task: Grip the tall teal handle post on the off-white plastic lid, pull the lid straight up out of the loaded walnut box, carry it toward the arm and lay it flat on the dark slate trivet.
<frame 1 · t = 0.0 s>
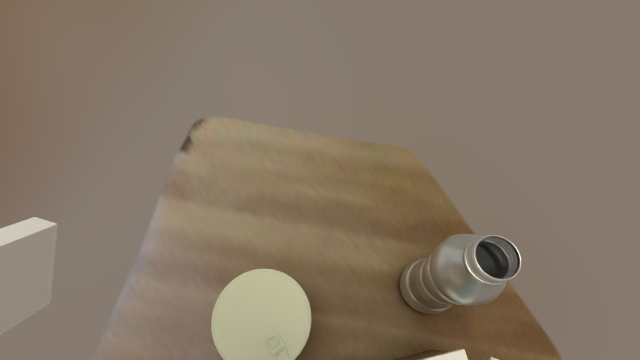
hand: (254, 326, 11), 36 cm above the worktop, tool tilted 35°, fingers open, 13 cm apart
can: (272, 323, 44), on the worktop
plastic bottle: (421, 288, 47), on the worktop
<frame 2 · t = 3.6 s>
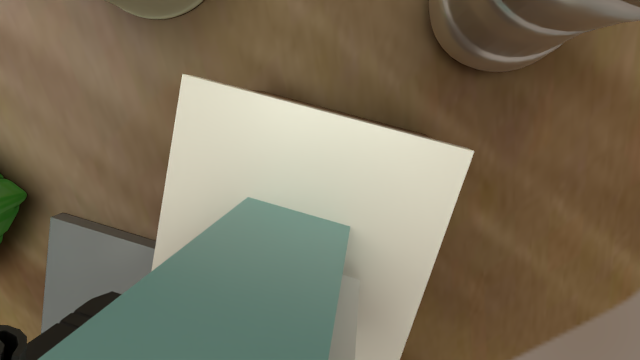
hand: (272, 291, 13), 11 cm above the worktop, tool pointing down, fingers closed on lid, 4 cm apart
box: (316, 206, 23), on the worktop
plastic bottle: (483, 12, 20), on the worktop
trivet: (124, 316, 27), on the worktop
lid: (289, 260, 15), point 8 cm above the worktop, touching box, gripper
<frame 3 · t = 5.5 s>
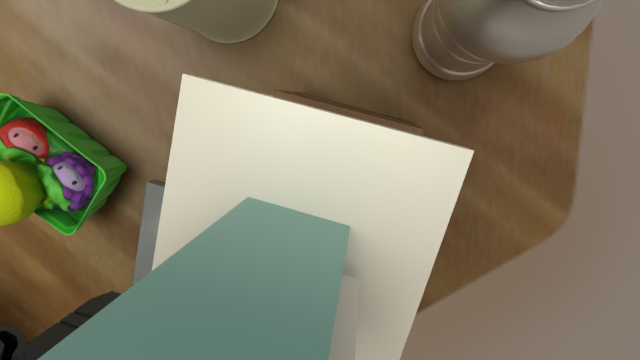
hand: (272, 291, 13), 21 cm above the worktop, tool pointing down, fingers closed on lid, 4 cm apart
box: (336, 173, 33), on the worktop
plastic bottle: (450, 40, 30), on the worktop
fruit basket: (80, 162, 37), on the worktop
trivet: (195, 255, 37), on the worktop
lid: (289, 259, 15), point 18 cm above the worktop, touching gripper
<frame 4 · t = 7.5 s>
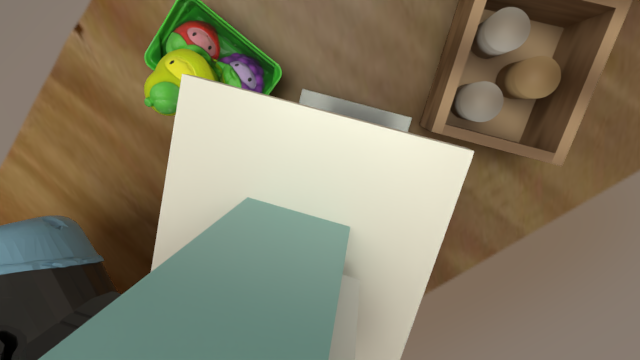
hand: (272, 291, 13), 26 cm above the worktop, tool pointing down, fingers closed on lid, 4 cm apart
box: (491, 76, 35), on the worktop
fruit basket: (230, 74, 38), on the worktop
trivet: (340, 164, 38), on the worktop
lid: (289, 260, 15), point 24 cm above the worktop, touching gripper
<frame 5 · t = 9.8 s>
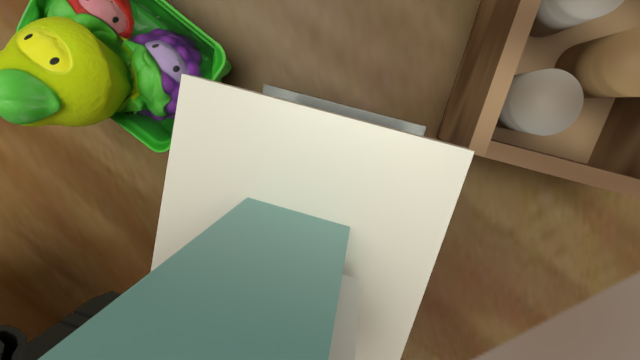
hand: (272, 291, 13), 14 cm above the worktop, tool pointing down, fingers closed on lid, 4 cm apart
box: (545, 64, 23), on the worktop
fruit basket: (161, 64, 27), on the worktop
trivet: (321, 194, 27), on the worktop
lid: (288, 260, 15), point 12 cm above the worktop, touching gripper
when the fingers open (6 cm above the worktop, at t = 11.6 s): lid drops 2 cm, resting on trivet.
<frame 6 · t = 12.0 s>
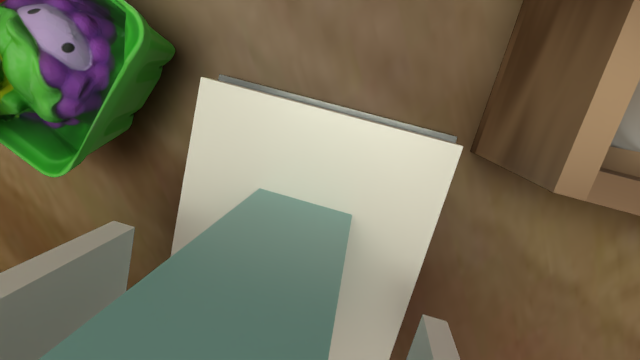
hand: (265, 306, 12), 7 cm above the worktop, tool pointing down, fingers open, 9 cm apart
box: (639, 43, 15), on the worktop
fruit basket: (80, 47, 19), on the worktop
trivet: (304, 230, 19), on the worktop
lid: (296, 246, 17), point 2 cm above the worktop, touching trivet
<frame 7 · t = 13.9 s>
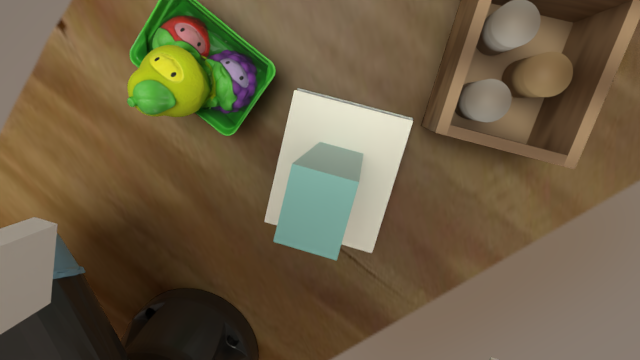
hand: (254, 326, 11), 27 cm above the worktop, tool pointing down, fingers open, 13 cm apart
box: (497, 74, 33), on the worktop
fruit basket: (221, 73, 36), on the worktop
trivet: (337, 167, 36), on the worktop
lid: (335, 172, 34), point 2 cm above the worktop, touching trivet
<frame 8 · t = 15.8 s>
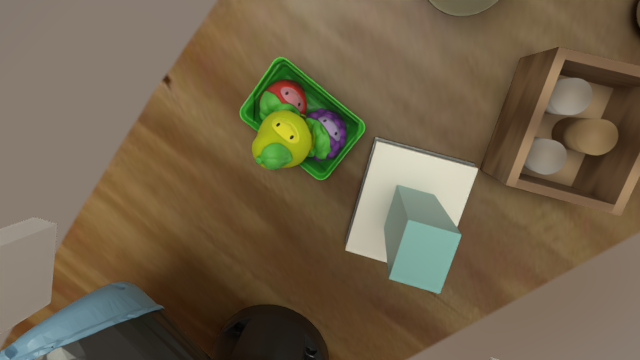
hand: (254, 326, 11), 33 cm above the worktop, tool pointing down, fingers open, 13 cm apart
box: (547, 127, 39), on the worktop
fruit basket: (306, 122, 42), on the worktop
trivet: (405, 203, 43), on the worktop
lid: (407, 208, 40), point 2 cm above the worktop, touching trivet
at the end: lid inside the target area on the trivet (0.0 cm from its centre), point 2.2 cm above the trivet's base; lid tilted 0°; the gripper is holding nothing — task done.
